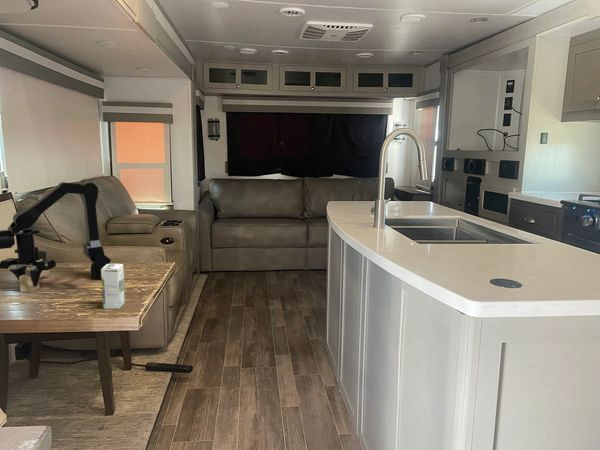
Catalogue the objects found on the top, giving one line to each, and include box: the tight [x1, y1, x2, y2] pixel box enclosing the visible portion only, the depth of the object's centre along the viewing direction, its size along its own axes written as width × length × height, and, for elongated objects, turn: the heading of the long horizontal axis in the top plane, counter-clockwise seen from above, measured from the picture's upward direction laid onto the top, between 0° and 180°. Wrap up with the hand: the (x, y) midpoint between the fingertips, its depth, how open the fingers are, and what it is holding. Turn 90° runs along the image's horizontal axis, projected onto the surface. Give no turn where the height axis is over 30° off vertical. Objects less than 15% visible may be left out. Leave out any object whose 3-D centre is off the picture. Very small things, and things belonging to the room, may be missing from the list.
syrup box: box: [101, 263, 126, 310], centre depth 153 cm, size 6×6×14 cm
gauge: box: [18, 269, 51, 293], centre depth 173 cm, size 4×14×6 cm, turn 175°
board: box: [39, 276, 87, 290], centre depth 176 cm, size 20×6×2 cm, turn 85°
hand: (30, 286), depth 169 cm, fingers closed on gauge, 4 cm apart
